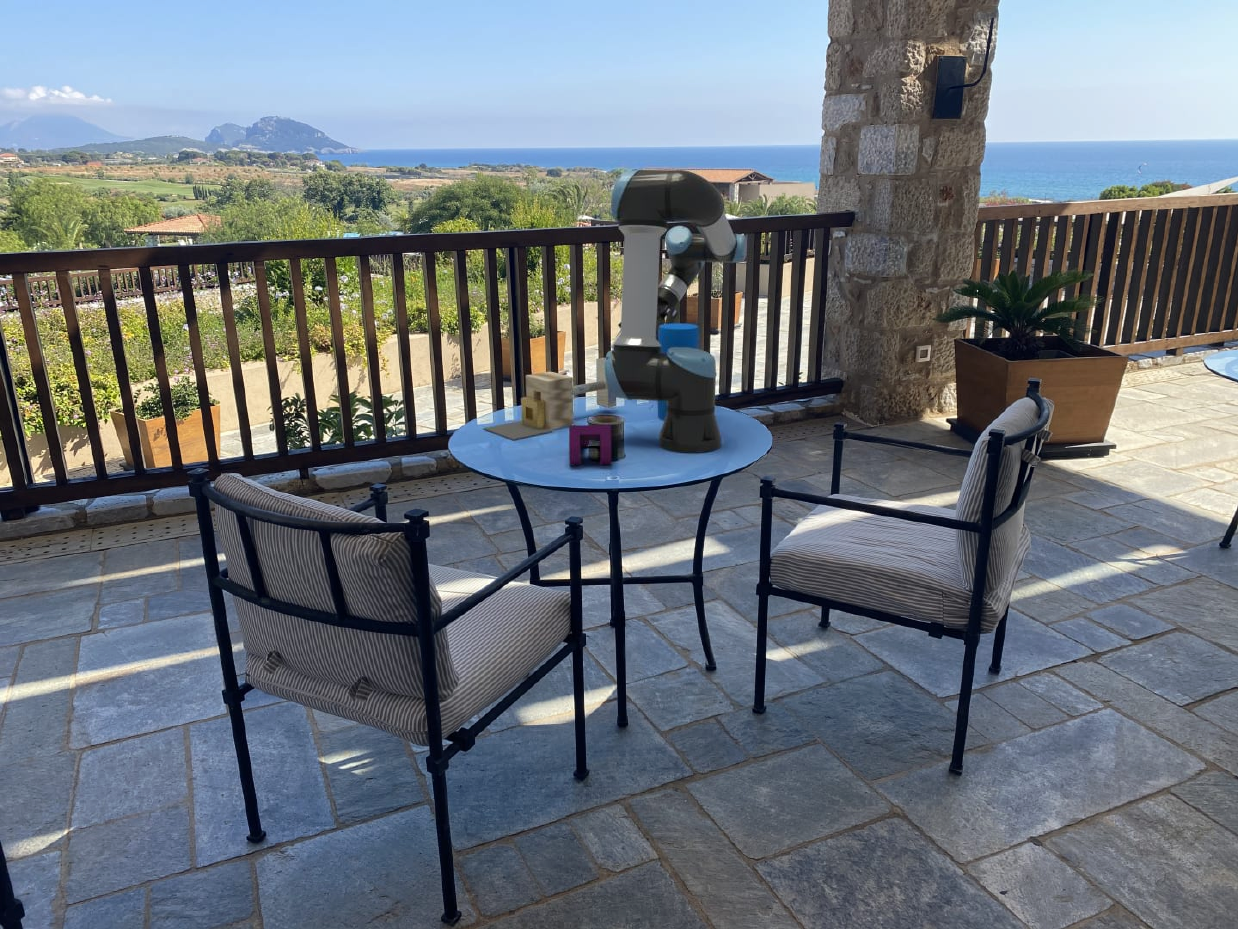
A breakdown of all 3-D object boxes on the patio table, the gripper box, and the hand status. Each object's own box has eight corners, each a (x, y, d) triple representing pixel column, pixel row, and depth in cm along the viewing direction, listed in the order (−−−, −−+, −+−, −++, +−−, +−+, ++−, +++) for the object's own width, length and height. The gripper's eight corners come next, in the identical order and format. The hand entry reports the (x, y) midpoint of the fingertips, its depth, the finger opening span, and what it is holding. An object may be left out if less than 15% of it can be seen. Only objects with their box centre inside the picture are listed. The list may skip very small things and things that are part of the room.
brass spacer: (529, 422, 235) (528, 396, 233) (545, 428, 230) (544, 401, 227) (522, 424, 233) (520, 397, 231) (537, 429, 228) (536, 402, 226)
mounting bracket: (572, 473, 214) (569, 462, 196) (571, 439, 215) (568, 425, 197) (610, 472, 214) (611, 462, 196) (610, 438, 215) (610, 425, 198)
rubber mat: (521, 421, 237) (521, 420, 237) (552, 432, 227) (552, 430, 227) (483, 429, 230) (483, 428, 230) (513, 440, 220) (513, 439, 220)
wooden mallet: (605, 402, 249) (604, 357, 245) (616, 406, 245) (616, 360, 242) (540, 415, 235) (538, 368, 231) (551, 419, 232) (549, 371, 228)
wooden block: (551, 418, 241) (550, 371, 237) (573, 425, 234) (572, 377, 230) (527, 422, 236) (525, 375, 232) (549, 430, 229) (547, 381, 225)
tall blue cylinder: (659, 411, 247) (660, 322, 240) (697, 413, 246) (699, 323, 238) (655, 421, 237) (656, 329, 229) (695, 422, 236) (697, 329, 228)
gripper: (706, 307, 246) (666, 366, 241) (646, 299, 264) (608, 354, 259) (693, 289, 241) (652, 350, 236) (632, 282, 259) (594, 338, 254)
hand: (629, 352), depth 248 cm, fingers open, 13 cm apart
